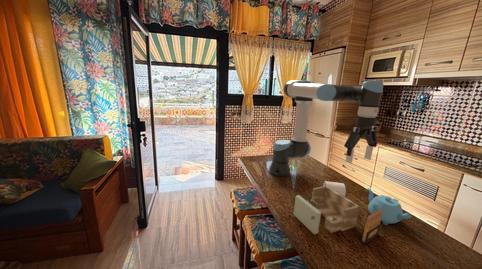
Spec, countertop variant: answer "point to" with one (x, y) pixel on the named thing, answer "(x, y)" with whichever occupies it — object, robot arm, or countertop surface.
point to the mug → (336, 187)
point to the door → (307, 214)
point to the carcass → (334, 209)
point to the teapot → (387, 208)
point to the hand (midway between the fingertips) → (358, 160)
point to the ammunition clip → (372, 226)
